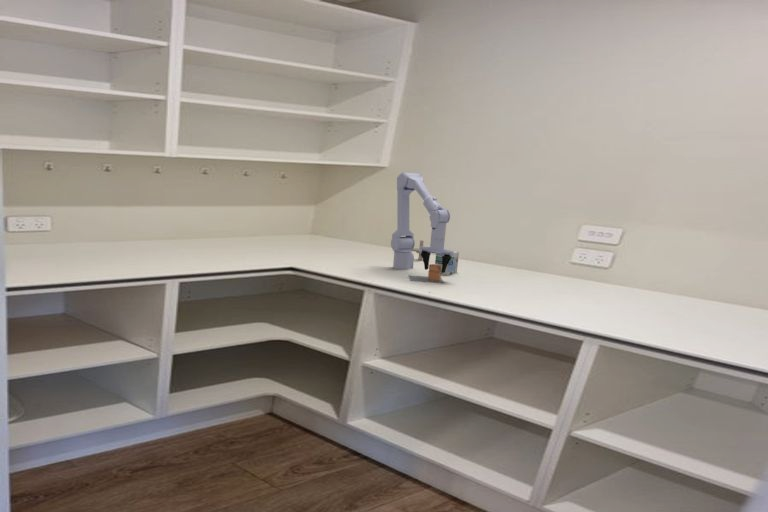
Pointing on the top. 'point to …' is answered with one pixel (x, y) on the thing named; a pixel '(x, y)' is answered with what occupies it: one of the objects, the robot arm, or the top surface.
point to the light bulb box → (451, 265)
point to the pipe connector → (419, 249)
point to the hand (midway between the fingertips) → (434, 270)
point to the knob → (434, 272)
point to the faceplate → (423, 279)
